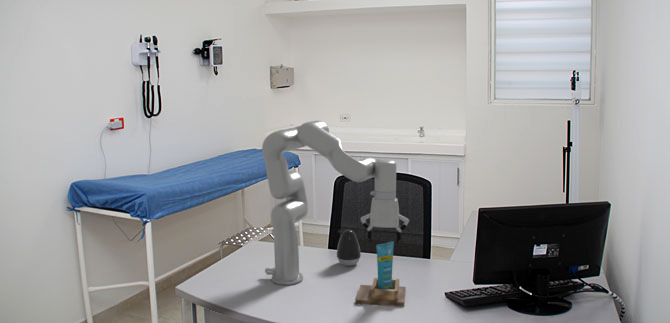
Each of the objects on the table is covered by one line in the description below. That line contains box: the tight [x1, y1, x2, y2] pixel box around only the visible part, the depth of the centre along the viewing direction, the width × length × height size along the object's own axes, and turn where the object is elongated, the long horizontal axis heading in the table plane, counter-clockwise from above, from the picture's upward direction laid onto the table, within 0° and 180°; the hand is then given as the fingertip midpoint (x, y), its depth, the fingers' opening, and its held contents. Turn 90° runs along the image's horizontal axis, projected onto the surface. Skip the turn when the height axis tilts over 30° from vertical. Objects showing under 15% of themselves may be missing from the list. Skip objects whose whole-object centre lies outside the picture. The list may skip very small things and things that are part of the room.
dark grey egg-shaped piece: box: [336, 229, 362, 267], centre depth 236 cm, size 10×10×15 cm
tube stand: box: [355, 277, 407, 307], centre depth 203 cm, size 17×14×5 cm
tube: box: [375, 240, 395, 289], centre depth 201 cm, size 7×5×19 cm, turn 125°
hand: (384, 241), depth 199 cm, fingers open, 9 cm apart
